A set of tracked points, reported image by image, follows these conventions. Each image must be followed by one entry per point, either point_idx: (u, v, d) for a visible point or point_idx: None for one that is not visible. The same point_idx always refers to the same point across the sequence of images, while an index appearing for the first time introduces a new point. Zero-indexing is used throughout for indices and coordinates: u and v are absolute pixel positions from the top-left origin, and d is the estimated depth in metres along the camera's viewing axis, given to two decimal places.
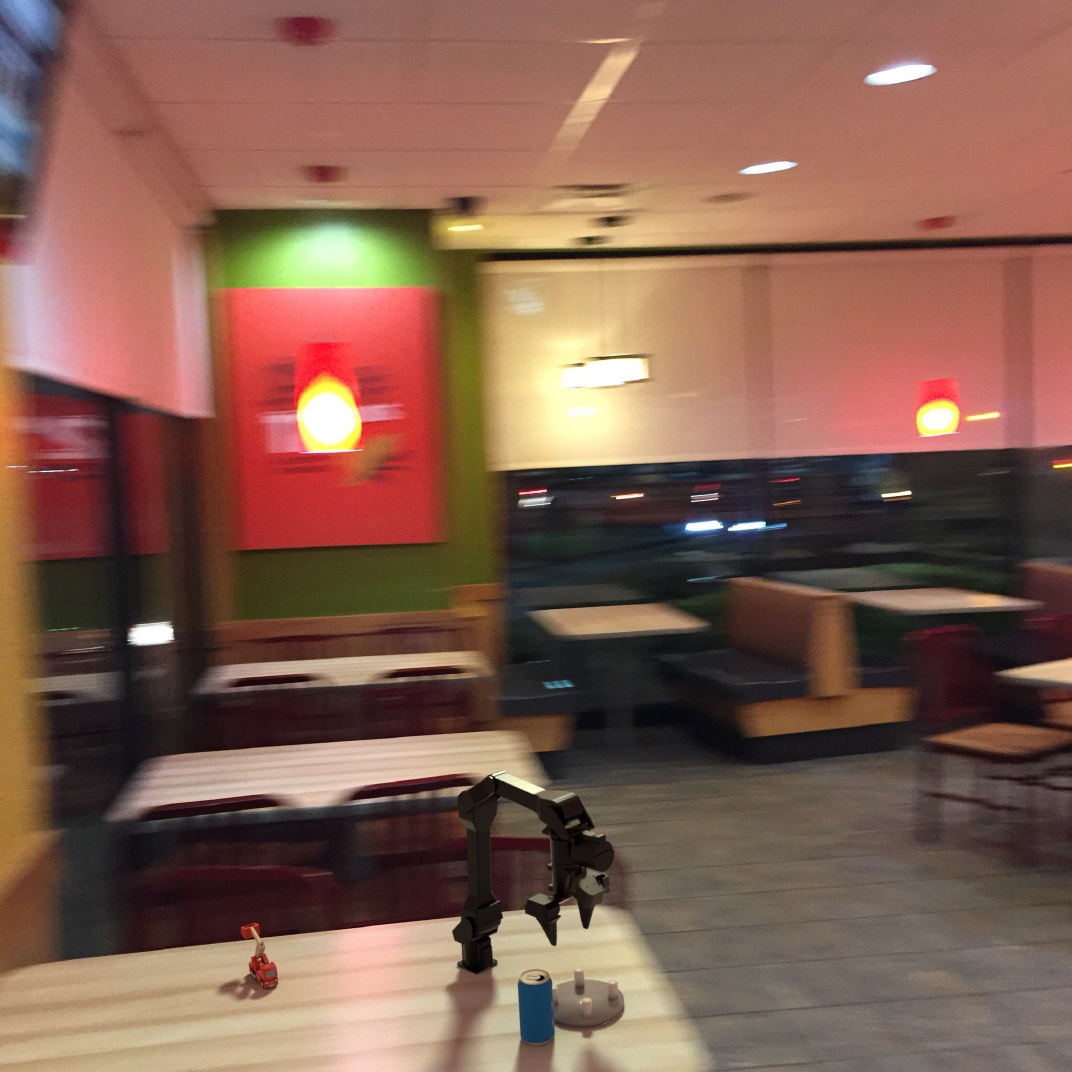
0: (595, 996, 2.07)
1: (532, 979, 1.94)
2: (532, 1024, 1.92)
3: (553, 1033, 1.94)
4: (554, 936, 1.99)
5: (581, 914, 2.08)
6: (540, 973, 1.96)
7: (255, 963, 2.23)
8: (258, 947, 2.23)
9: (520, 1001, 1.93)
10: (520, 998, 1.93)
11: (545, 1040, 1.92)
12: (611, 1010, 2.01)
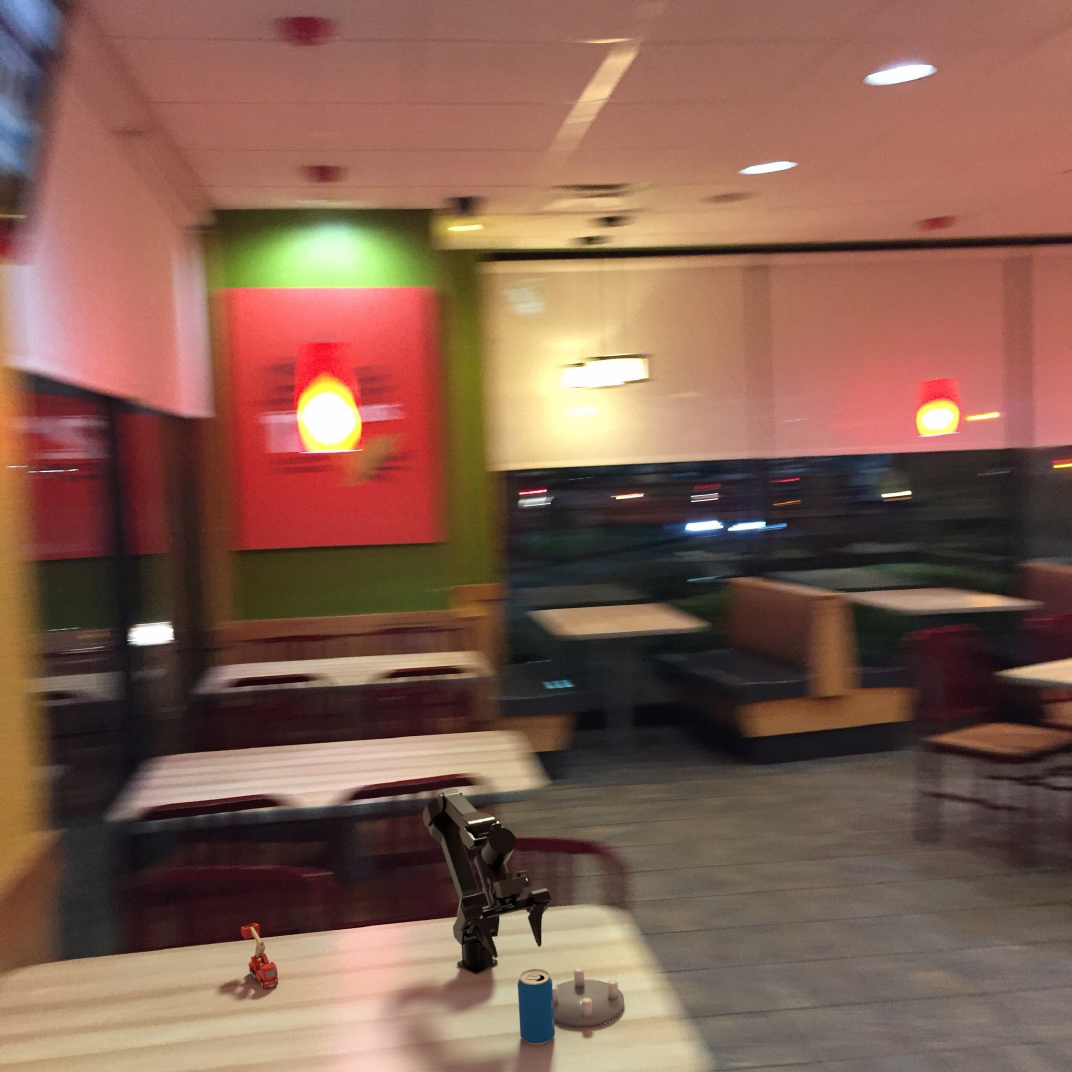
0: (595, 996, 2.07)
1: (532, 979, 1.94)
2: (532, 1024, 1.92)
3: (553, 1033, 1.94)
4: (490, 944, 2.00)
5: (534, 934, 2.06)
6: (540, 973, 1.96)
7: (255, 963, 2.23)
8: (258, 947, 2.23)
9: (520, 1001, 1.93)
10: (520, 998, 1.93)
11: (545, 1040, 1.92)
12: (611, 1010, 2.01)
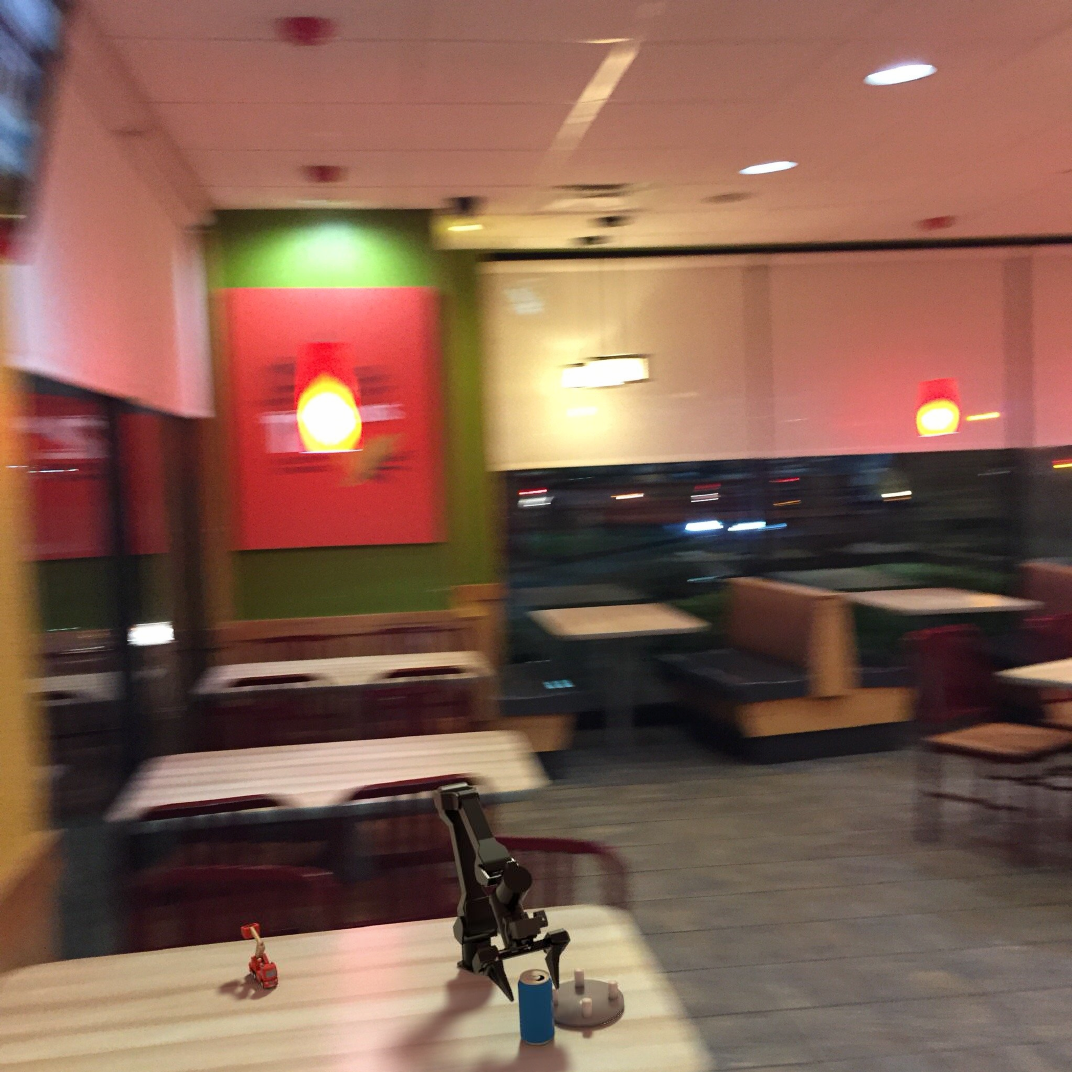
0: (595, 996, 2.07)
1: (532, 979, 1.94)
2: (532, 1024, 1.92)
3: (553, 1033, 1.94)
4: (507, 987, 1.93)
5: (551, 977, 1.99)
6: (540, 973, 1.96)
7: (255, 963, 2.23)
8: (258, 947, 2.23)
9: (520, 1001, 1.93)
10: (520, 998, 1.93)
11: (545, 1040, 1.92)
12: (611, 1010, 2.01)
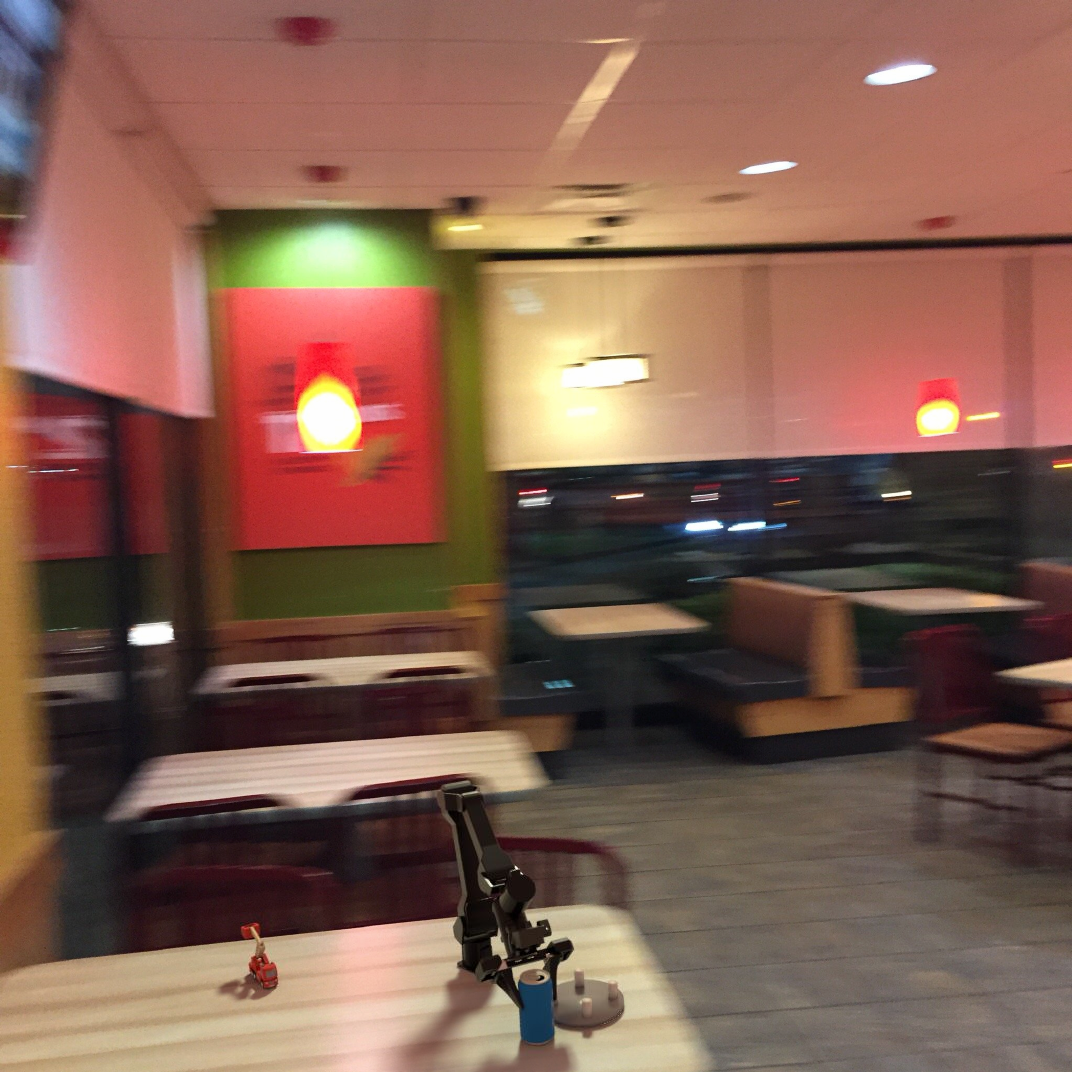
0: (595, 996, 2.07)
1: (532, 979, 1.94)
2: (532, 1024, 1.92)
3: (553, 1033, 1.94)
4: (516, 996, 1.93)
5: None
6: (540, 973, 1.96)
7: (255, 963, 2.23)
8: (258, 947, 2.23)
9: None
10: None
11: (545, 1040, 1.92)
12: (611, 1010, 2.01)
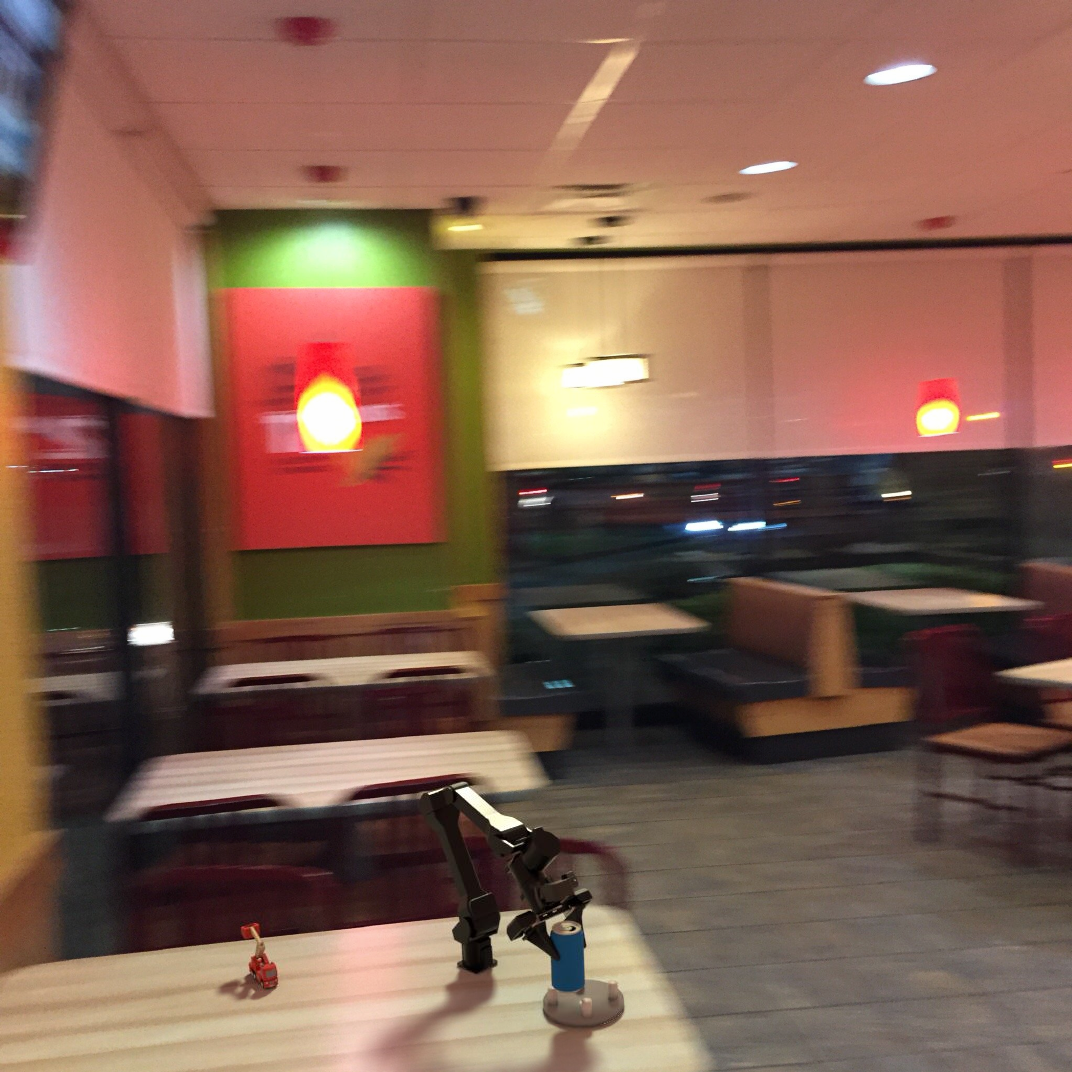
0: (595, 996, 2.07)
1: (565, 930, 2.00)
2: (569, 973, 1.98)
3: (584, 980, 2.01)
4: (552, 947, 1.98)
5: None
6: (569, 924, 2.02)
7: (255, 963, 2.23)
8: (258, 947, 2.23)
9: None
10: None
11: (580, 987, 1.99)
12: (611, 1010, 2.01)
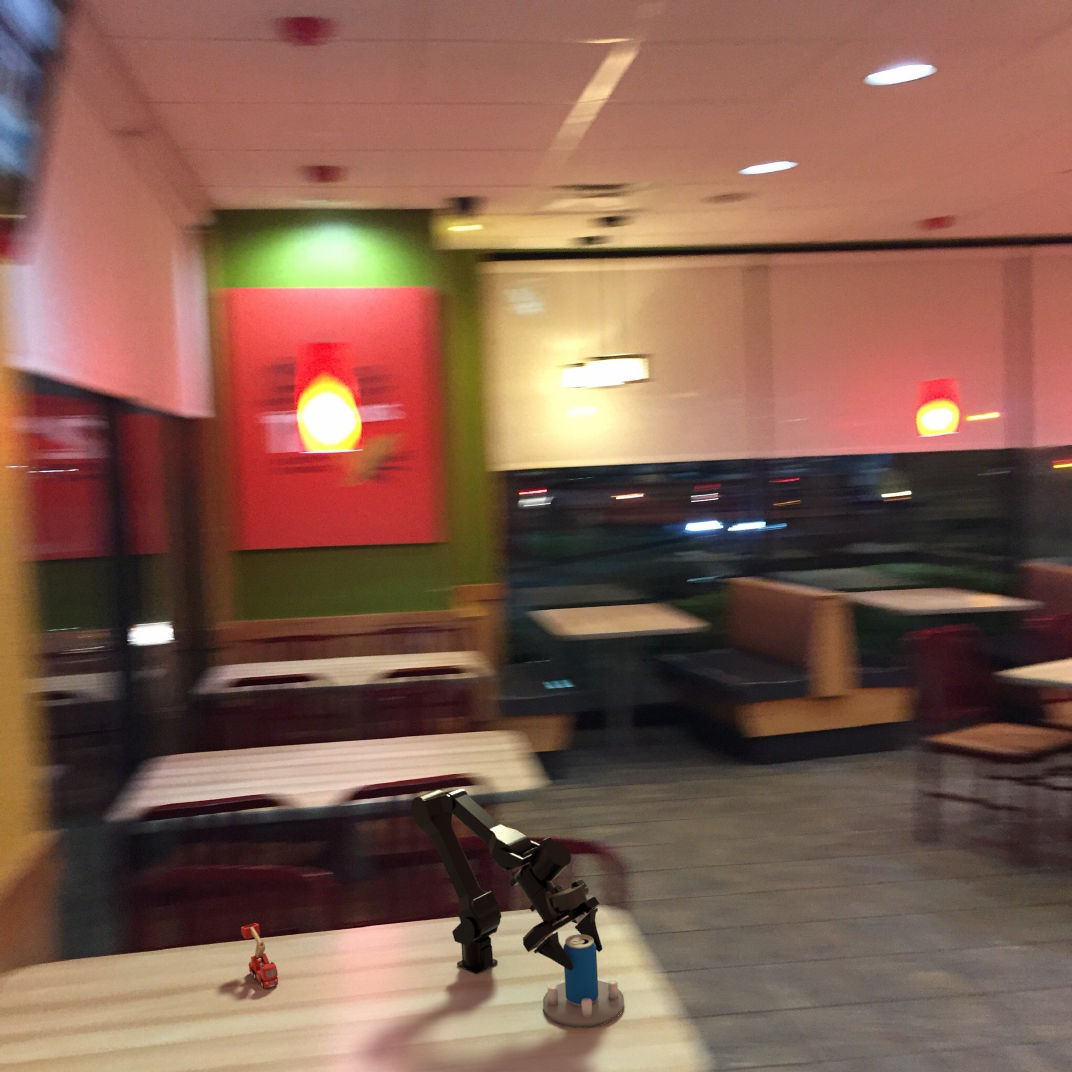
0: None
1: (579, 943, 2.04)
2: (585, 985, 2.03)
3: None
4: (565, 957, 2.01)
5: None
6: (580, 937, 2.07)
7: (255, 963, 2.23)
8: (258, 947, 2.23)
9: None
10: None
11: (595, 998, 2.04)
12: (611, 1010, 2.01)
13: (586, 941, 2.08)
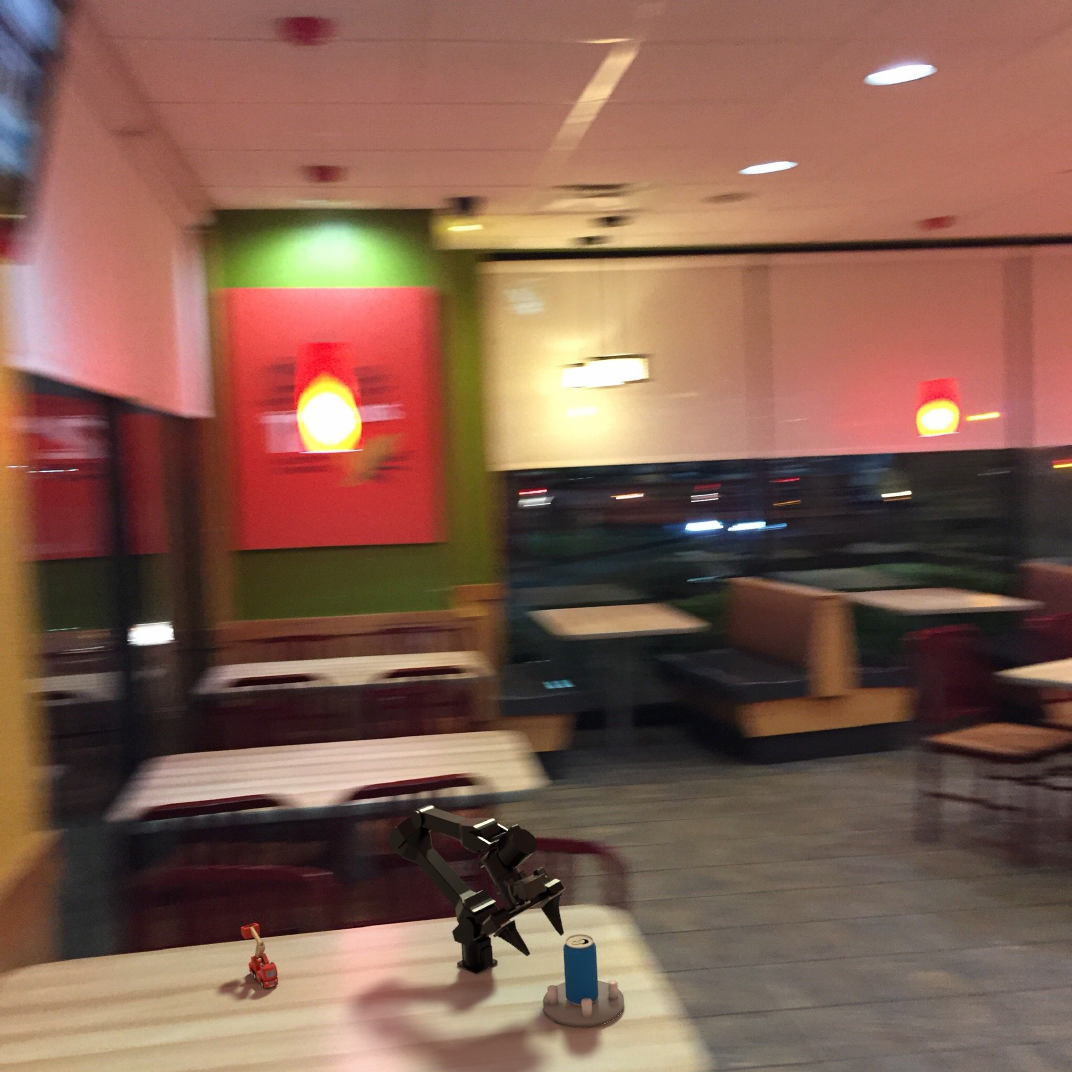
0: None
1: (579, 943, 2.04)
2: (585, 985, 2.03)
3: None
4: (522, 944, 2.07)
5: (553, 924, 2.15)
6: (580, 937, 2.07)
7: (255, 963, 2.23)
8: (258, 947, 2.23)
9: (571, 966, 2.03)
10: (571, 963, 2.03)
11: (595, 998, 2.04)
12: (611, 1010, 2.01)
13: (586, 941, 2.08)
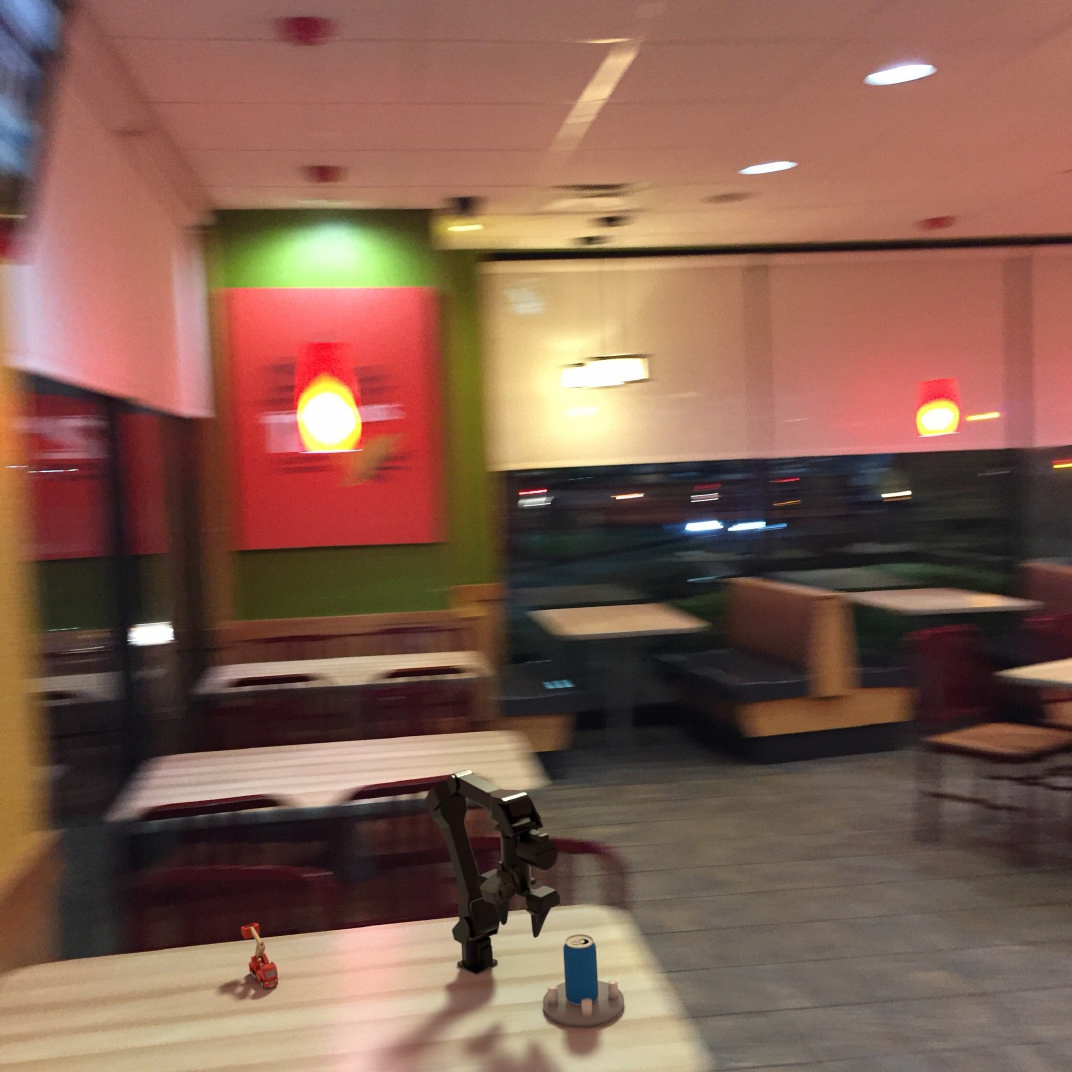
0: None
1: (579, 943, 2.04)
2: (585, 985, 2.03)
3: None
4: (498, 914, 2.14)
5: None
6: (580, 937, 2.07)
7: (255, 963, 2.23)
8: (258, 947, 2.23)
9: (571, 966, 2.03)
10: (571, 964, 2.03)
11: (595, 998, 2.04)
12: (611, 1010, 2.01)
13: (586, 941, 2.08)
